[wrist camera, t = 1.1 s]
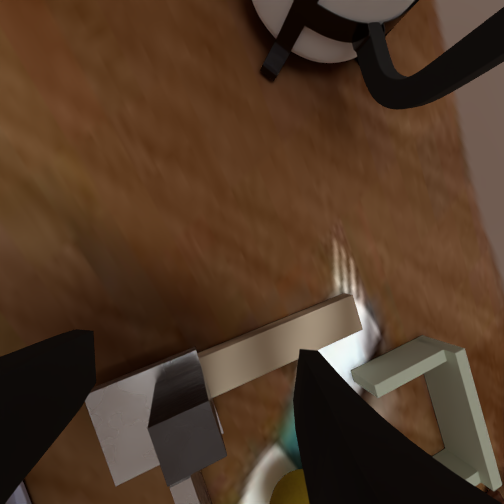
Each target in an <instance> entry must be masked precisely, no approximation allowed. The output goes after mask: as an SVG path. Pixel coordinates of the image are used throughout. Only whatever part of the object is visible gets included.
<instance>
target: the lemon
mask: <svg viewBox="0 0 504 504" xmlns="http://www.w3.org/2000/svg"><path fill="white" fill-rule="evenodd" d="M270 504H309V499H308V493H307V488H306V483H305V478H304V472H303V469H297V470H294V471H291V472H289V473H287V474H286V475H284V476H283V477H282V478H281V479H280V481H279V482H278V483H277V485H276V487H275V488H274V490H273V493H272V496H271V499H270Z"/></svg>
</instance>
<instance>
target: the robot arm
mask: <svg viewBox="0 0 504 504" xmlns="http://www.w3.org/2000/svg"><path fill="white" fill-rule="evenodd" d="M95 383H96V370H95V353H94V336H93V331H88V330H77V329H76V330H72V331H69V332H65V333H62V334H60V335H57V336H54V337H51V338H49V339H46V340H43V341H41V342H38V343H35V344H33V345H30V346H28V347H25V348H23V349H20V350H17V351H15V352H12V353H10V354H7V355H4V356H2V357H0V504H31V501H30V499H29V496H28V493H27V491H26V488H25V486H24V483H23V479H24V478H25V477H26V476H27V474H28V473H29V472H30V471H31V470H32V468H33V467H34V466H35V465H36V463H37V462H38V461H39V460H40V458H41V457H42V456H43V455H44V453H45V452H46V451H47V450H48V448H49V447H50V446H51V445H52V443H53V442H54V441H55V440H56V439H57V437H58V436H59V435H60V434H61V432H62V431H63V430H64V429H65V427H66V426H67V425H68V423H69V422H70V421H71V420H72V418H73V417H74V416H75V415H76V413H77V412H78V411H79V409H80V408H81V406H82V405H83V403H84V401H85V400H86V398H87V397H88V395H89V393H90V392H91V390H92V388H93V387H94V385H95ZM293 403H294V417H295V429H296V435H297V441H298V446H299V451H300V457H301V462H302V467H303V472H304V478H305V483H306V488H307V493H308V499H309V504H502V503H501V502H499V501H497V500H496V499H494V498H493V497H491V496H489V495H488V494H486V493H485V492H483V491H481V490H480V489H478V488H477V487H475V486H474V485H472V484H471V483H469V482H468V481H466V480H465V479H463V478H462V477H460V476H459V475H457V474H456V473H454V472H453V471H451V470H450V469H449V468H447V467H446V466H444V465H443V464H442V463H440V462H439V461H437V460H436V459H435V458H433V457H432V456H430V455H429V454H428V453H426V452H425V451H424V450H422V449H421V448H420V447H418V446H417V445H416V444H414V443H413V442H412V441H410V440H409V439H408V438H407V437H406V436H404V435H403V434H402V433H401V432H399V431H398V430H397V429H396V428H395V427H393V426H392V425H391V424H390V423H388V422H387V421H386V420H385V419H384V418H383V417H382V416H380V415H379V414H378V413H377V412H376V411H375V410H374V409H373V408H372V407H371V406H370V405H369V404H368V403H366V402H365V401H364V400H363V399H362V398H361V397H360V396H359V395H358V394H357V393H356V392H355V391H354V390H353V389H352V388H351V387H350V386H349V385H348V384H347V382H346V381H345V380H344V379H343V378H342V377H341V376H340V375H339V374H338V373H337V372H336V371H335V369H334V368H333V367H332V366H331V365H330V364H329V363H328V362H327V360H326V359H325V358H324V357H323V356H322V355H321V354H320V353H319V352H318V351H317V350H307V349H300V350H299V358H298V366H297V374H296V382H295V390H294V398H293Z"/></svg>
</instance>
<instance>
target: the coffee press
mask: <svg viewBox="0 0 504 504" xmlns="http://www.w3.org/2000/svg"><path fill="white" fill-rule="evenodd" d="M418 1H419V0H252V2H253V5H254V7H255V9H256V11H257V13H258V15H259V17H260V19H261V20H262V22H263V23H264V25H265V26H266V28H267V29H268V30H269V32H270V33H271V34H272V35H273V36H274V37H275V38H276V40H275V42H274V44H273V46H272V48H271V50H270V52H269V54H268V56H267V58H266V60H265V62H264V63H263V65H262V67H261V70H260V71H261V72H262V73H264V74H265V75H266V76H268V77H269V78H270V79H272V80H273V81H274V80H275V78H276V77H277V75H278V73H279V72H280V70H281V68H282V66H283V65H284V63H285V61H286V60H287V58H288V56H289V54H290V53H291V51H292V52H293V53H295V54H297V55H299V56H301V57H303V58H305V59H308V60H311V61H315V62H320V63H337V62H343V61H347V60H351V59H353V58H355V57H357V58H358V62H359V65H360V69H361V72H362V75H363V78H364V81H365V83H366V86H367V88H368V90H369V92H370V93H371V95H372V97H373V98H374V99H375V100H376V101H377V102H378V103H379V104H381V105H382V106H384V107H387V108H390V109H407V108H413V107H418V106H422V105H425V104H428V103H431V102H433V101H435V100H437V99H440V98H442V97H444V96H445V95H447V94H449V93H451V92H453V91H455V90H456V89H458V88H460V87H462V86H463V85H465V84H467V83H469V82H470V81H472V80H474V79H475V78H477V77H479V76H480V75H482V74H484V73H485V72H487V71H489V70H490V69H492V68H494V67H495V66H497V65H499V64H500V63H502V62H504V7H503V8H502V9H500V10H499V11H498V12H497V13H495V14H494V15H493V16H491V17H490V18H489V19H487V20H486V21H485V22H484V23H482V24H481V25H480V26H478V27H477V28H476V29H474V30H473V31H472V32H471V33H469V34H468V35H467V36H465V37H464V38H463V39H462V40H460V41H459V42H458V43H456V44H455V45H454V46H452V47H451V48H450V49H448V50H447V51H446V52H444V53H443V54H442V55H441V56H439V57H438V58H437V59H435V60H434V61H433V62H431V63H430V64H429V65H427V66H426V67H425V68H423V69H422V70H420V71H419V72H417V73H416V74H414V75H412V76H410V77H406V76H403V75H401V74H399V73H398V72H397V71H396V69H395V68H394V66H393V64H392V61H391V58H390V55H389V51H388V47H387V44H386V40H385V37H386V35H387V34H388V33H389V32H390V31H391V30H392V29H393V27H394V26H395V25H396V24H397V23H398V22H399V21H400V20H401V19H402V18H403V17H404V16H405V15H406V14H407V12H408V11H409V10H410V9H411V8H412V7H413V6H414V5H415V4H416V3H417V2H418Z"/></svg>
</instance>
